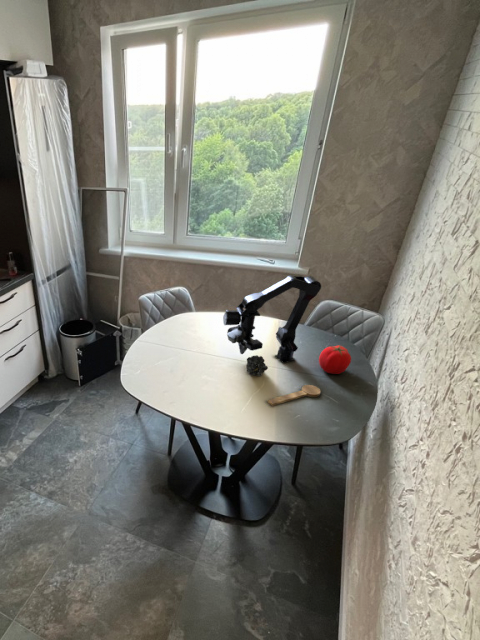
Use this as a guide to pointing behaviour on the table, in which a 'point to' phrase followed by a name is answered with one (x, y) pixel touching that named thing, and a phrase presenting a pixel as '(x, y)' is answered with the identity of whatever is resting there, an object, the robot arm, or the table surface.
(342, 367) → the tomato
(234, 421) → the table surface
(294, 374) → the table surface
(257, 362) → the fruit
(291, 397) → the spoon
